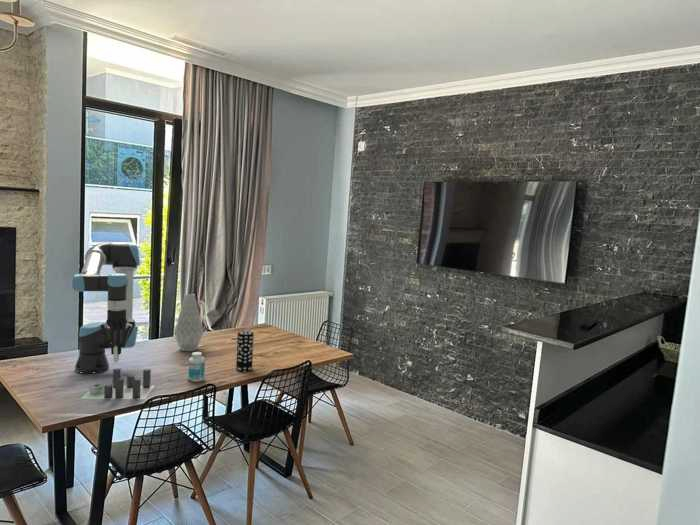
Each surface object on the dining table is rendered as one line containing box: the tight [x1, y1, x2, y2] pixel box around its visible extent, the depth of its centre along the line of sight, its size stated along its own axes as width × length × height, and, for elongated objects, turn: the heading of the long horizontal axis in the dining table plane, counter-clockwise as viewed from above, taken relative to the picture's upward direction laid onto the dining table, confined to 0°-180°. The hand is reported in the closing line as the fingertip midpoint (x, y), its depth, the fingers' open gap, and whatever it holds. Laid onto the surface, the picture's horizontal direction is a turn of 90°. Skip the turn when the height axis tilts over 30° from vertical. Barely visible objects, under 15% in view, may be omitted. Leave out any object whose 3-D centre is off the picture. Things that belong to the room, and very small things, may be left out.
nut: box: [88, 382, 105, 395], centre depth 221 cm, size 5×6×3 cm
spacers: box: [104, 368, 152, 400], centre depth 223 cm, size 16×16×8 cm
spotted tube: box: [235, 330, 254, 373], centre depth 266 cm, size 8×8×20 cm
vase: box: [173, 293, 204, 352], centre depth 297 cm, size 17×17×33 cm
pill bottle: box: [188, 351, 206, 383], centre depth 247 cm, size 8×7×14 cm
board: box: [80, 384, 155, 400], centre depth 223 cm, size 26×17×1 cm, turn 98°
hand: (116, 361), depth 222 cm, fingers closed
